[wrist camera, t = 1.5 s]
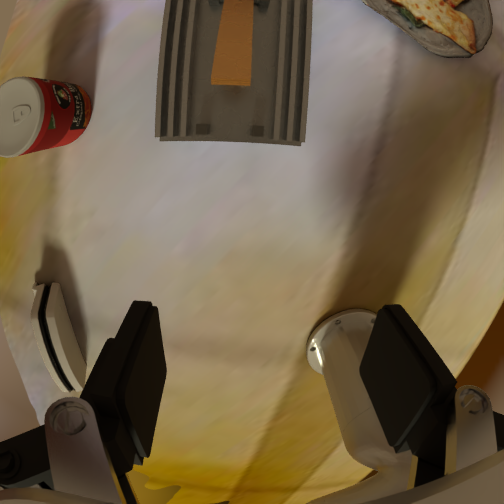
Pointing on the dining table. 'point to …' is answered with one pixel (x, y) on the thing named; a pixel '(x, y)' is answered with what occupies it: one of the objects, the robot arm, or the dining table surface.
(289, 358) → the dining table surface
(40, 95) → the canned food
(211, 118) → the heatsink
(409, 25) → the food plate
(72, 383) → the white curved block
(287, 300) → the dining table surface
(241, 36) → the orange brown flat bar
